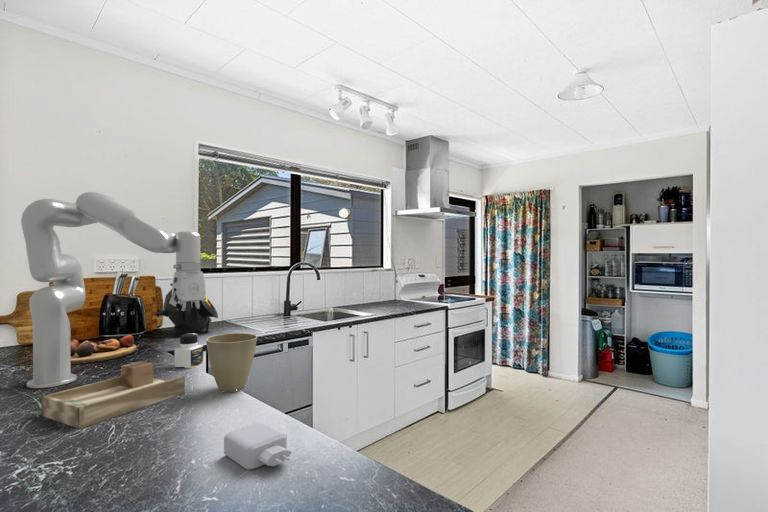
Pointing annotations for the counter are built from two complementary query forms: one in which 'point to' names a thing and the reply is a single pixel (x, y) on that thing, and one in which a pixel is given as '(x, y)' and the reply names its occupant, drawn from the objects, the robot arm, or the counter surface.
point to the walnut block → (136, 374)
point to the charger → (256, 446)
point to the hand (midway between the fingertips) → (188, 320)
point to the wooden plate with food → (101, 350)
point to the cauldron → (188, 315)
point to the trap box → (106, 400)
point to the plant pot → (231, 359)
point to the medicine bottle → (189, 351)
